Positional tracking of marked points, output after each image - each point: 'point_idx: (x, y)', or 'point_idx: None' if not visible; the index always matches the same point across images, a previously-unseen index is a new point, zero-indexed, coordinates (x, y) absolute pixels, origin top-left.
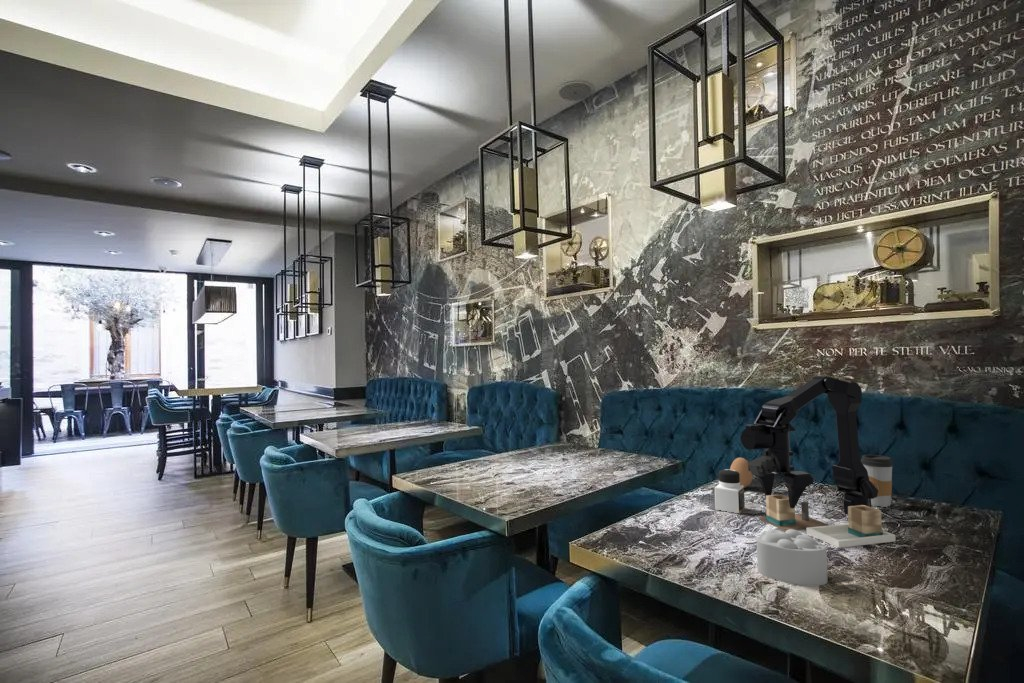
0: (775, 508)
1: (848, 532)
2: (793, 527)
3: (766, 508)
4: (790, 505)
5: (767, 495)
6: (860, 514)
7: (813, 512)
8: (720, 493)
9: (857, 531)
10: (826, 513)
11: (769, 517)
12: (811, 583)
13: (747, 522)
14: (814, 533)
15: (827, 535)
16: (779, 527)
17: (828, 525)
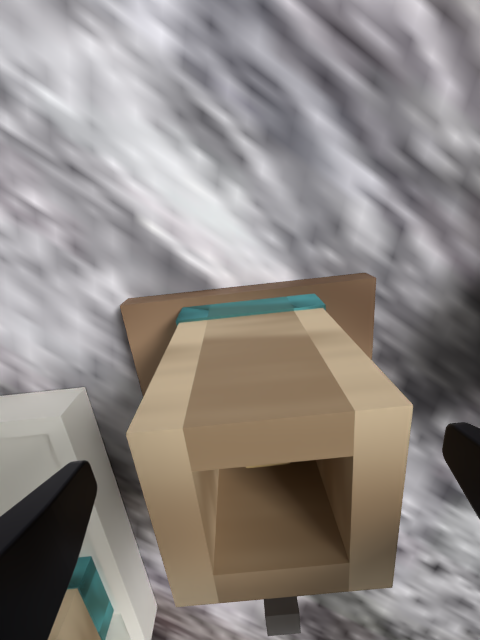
0: (214, 357)
1: (88, 558)
2: (152, 375)
3: (341, 328)
4: (55, 478)
5: (406, 425)
6: None
7: (395, 582)
8: None
9: None
10: (366, 611)
11: (285, 306)
12: None
13: (369, 168)
14: (6, 412)
15: None
16: (171, 298)
17: (104, 533)
